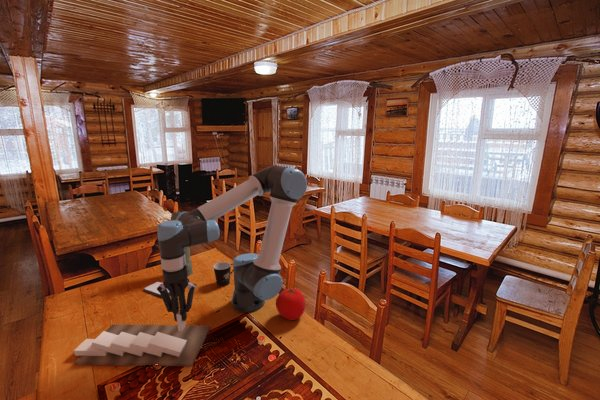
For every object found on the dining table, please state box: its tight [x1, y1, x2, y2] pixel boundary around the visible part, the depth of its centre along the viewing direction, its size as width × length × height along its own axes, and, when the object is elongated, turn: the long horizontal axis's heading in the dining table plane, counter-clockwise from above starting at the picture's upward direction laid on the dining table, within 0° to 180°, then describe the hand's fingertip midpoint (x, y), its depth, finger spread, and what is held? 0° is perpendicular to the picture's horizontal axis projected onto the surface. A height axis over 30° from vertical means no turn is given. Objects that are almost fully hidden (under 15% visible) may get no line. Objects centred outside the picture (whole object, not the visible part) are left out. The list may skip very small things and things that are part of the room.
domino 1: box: [73, 338, 109, 357], centre depth 108 cm, size 2×6×11 cm
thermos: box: [170, 211, 193, 277], centre depth 162 cm, size 9×12×35 cm
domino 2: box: [91, 330, 125, 356], centre depth 107 cm, size 2×6×11 cm
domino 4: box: [130, 332, 164, 357], centre depth 107 cm, size 2×6×11 cm
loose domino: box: [148, 332, 187, 357], centre depth 107 cm, size 2×6×11 cm
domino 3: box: [110, 332, 144, 356], centre depth 107 cm, size 2×6×11 cm
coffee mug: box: [212, 261, 234, 287], centre depth 155 cm, size 12×9×10 cm
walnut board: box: [74, 324, 211, 367], centre depth 112 cm, size 40×20×1 cm, turn 89°
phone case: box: [143, 281, 171, 298], centre depth 149 cm, size 9×2×16 cm
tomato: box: [275, 287, 306, 321], centre depth 127 cm, size 12×12×13 cm
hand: (181, 328), depth 106 cm, fingers closed
